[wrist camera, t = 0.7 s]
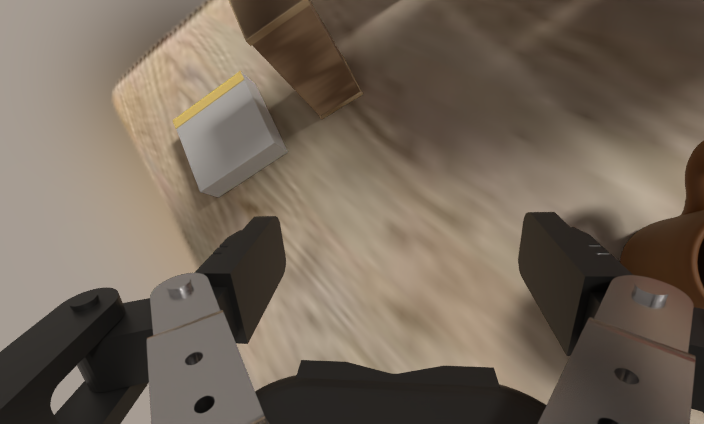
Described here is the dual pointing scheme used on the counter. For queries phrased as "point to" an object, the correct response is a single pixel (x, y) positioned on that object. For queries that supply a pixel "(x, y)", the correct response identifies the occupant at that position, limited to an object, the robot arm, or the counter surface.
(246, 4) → the tall brown wooden box
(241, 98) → the notepad
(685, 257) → the mug
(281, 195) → the counter surface
